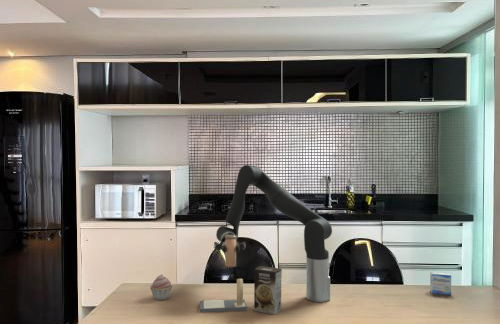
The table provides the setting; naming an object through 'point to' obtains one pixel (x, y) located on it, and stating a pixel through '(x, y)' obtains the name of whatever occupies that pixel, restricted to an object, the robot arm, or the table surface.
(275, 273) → the coffee box
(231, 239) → the spice jar
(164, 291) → the cupcake
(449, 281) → the medicine box
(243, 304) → the grey stand with post
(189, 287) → the table surface
